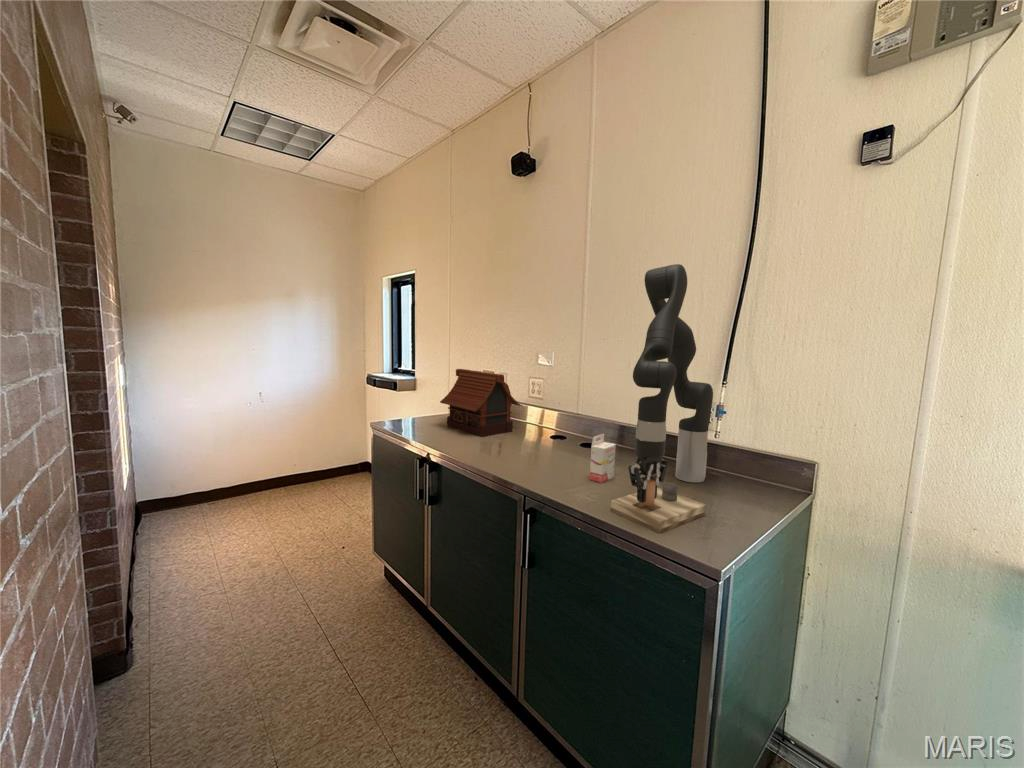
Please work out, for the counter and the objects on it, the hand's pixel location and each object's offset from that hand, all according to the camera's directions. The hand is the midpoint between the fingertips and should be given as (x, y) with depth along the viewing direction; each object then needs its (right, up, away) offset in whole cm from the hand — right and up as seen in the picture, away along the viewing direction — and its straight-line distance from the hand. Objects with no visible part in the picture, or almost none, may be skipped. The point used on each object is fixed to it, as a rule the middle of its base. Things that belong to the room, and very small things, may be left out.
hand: (646, 499), depth 115 cm
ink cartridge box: (-5, -1, +31) cm, 31 cm away
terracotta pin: (0, -1, 0) cm, 1 cm away
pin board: (+4, -5, +3) cm, 7 cm away
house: (-53, +8, +102) cm, 115 cm away
